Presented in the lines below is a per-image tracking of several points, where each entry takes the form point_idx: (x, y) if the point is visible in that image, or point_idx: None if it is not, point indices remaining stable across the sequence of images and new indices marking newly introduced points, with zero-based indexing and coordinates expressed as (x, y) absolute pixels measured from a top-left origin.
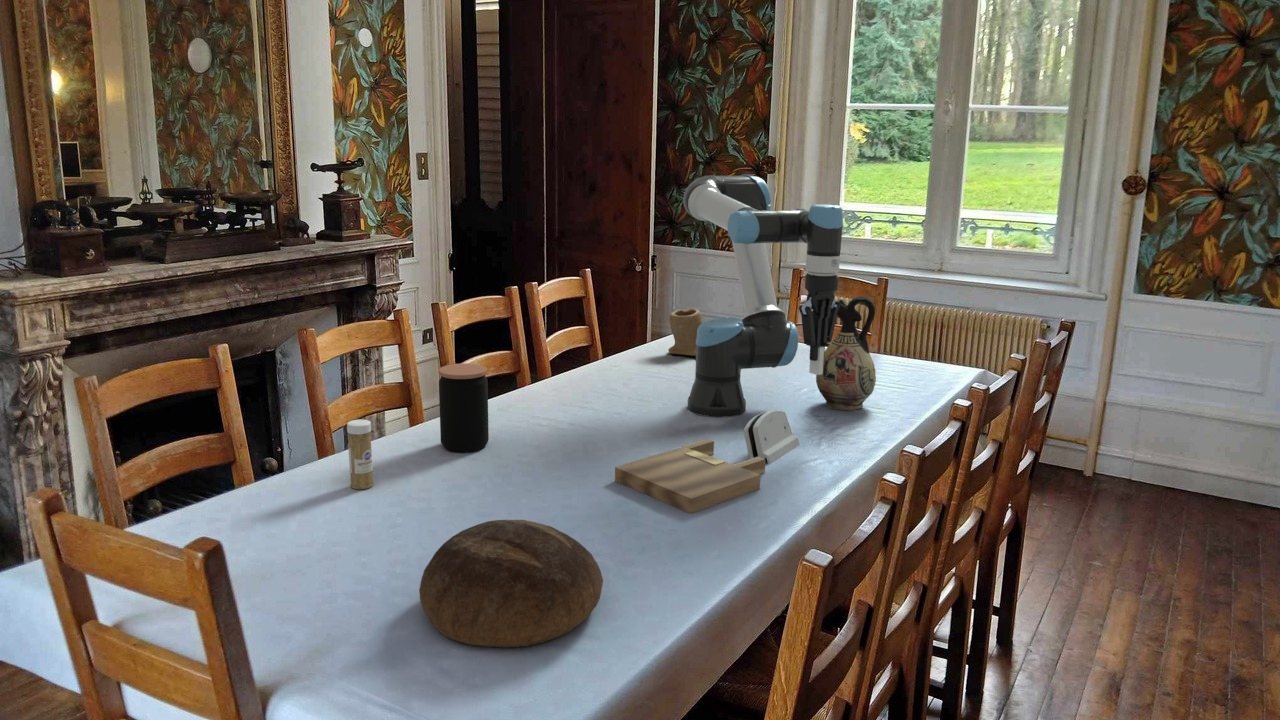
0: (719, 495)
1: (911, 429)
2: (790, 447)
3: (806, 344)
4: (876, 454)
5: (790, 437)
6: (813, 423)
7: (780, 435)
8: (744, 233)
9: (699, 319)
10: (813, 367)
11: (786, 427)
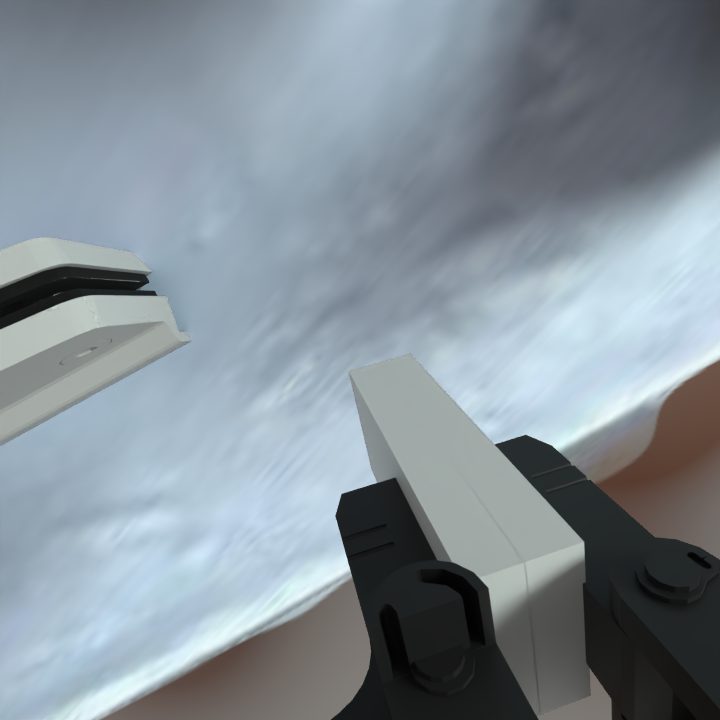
0: None
1: (704, 361)
2: (102, 388)
3: (369, 608)
4: None
5: (129, 349)
6: (457, 105)
7: (33, 386)
8: None
9: None
10: (372, 446)
11: (102, 343)
